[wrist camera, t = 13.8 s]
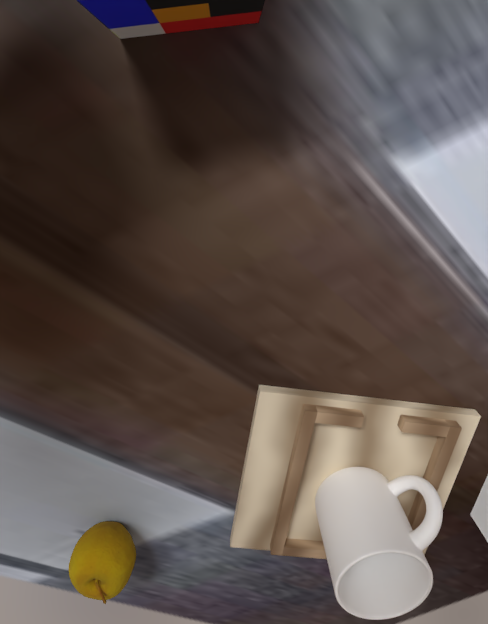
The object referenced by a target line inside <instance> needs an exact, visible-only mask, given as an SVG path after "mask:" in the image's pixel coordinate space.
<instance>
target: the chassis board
mask: <svg viewBox="0 0 488 624" xmlns="http://www.w3.org/2000/svg"><path fill="white" fill-rule="evenodd" d="M480 418H481V416H480V415H479V414H478V413H477V411H476V410H475V409H466V408H458V407H449V406H440V405H432V404H423V403H414V402H406V401H397V400H388V399H380V398H371V397H362V396H353V395H345V394H336V393H327V392H319V391H310V390H301V389H293V388H284V387H275V386H267V385H259V388H258V393H257V398H256V404H255V409H254V414H253V420H252V425H251V430H250V436H249V441H248V446H247V451H246V457H245V462H244V467H243V473H242V478H241V483H240V489H239V494H238V499H237V505H236V510H235V515H234V520H233V526H232V531H231V536H230V547H235V548H247V549H259V550H271V555H283V556H295V557H307V558H320V559H327V557H326V553H325V549H324V544H323V540H322V536H321V531H320V527H319V523H318V519H317V514H316V508H315V497H316V493H317V490H318V488H319V486H320V485H321V483H322V482H323V481H324V480H325V479H326V478H327V477H328V476H330V475H331V474H333V473H334V472H336V471H339V470H341V469H344V468H348V467H366V468H370V469H373V470H375V471H377V472H379V473H381V474H382V475H383V476H385V477H386V479H387V480H388V481H389V482H390V481H392V480H393V479H395V478H398V477H400V476H405V475H416V476H419V477H422V478H424V479H425V480H427V481H428V482H429V483H431V484H432V485H433V487H434V488H435V489H436V491H437V493H438V495H439V497H440V499H441V503H442V508H444V506H445V503H446V501H447V498H448V496H449V494H450V491H451V489H452V486H453V484H454V481H455V479H456V476H457V474H458V472H459V469H460V467H461V464H462V462H463V459H464V457H465V454H466V452H467V449H468V447H469V445H470V442H471V440H472V437H473V435H474V432H475V430H476V427H477V425H478V423H479V420H480ZM397 498H398V500H399V502H400V504H401V506H402V508H403V510H404V512H405V515H406V517H407V519H408V521H409V523H410V525H411V527H412V530H415V529H416V528H417V527H418V526H419V525H420V524H421V523H422V521H423V520H424V517H425V514H426V503H425V500H424V497H423V496H422V494H421V493H420V492H418V491H417V490H413V489H411V490H408V491H405V492H403V493H402V494H400V495H399V496H397ZM426 550H427V547H426V548H425V549H424V550H423V553H424V555H425V552H426Z"/></svg>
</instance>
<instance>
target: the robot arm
mask: <svg viewBox="0 0 488 624" xmlns="http://www.w3.org/2000/svg"><path fill="white" fill-rule="evenodd" d="M470 515H471V517H472V518H473V520H474V521H475V523H476V524H477V526H478V528H479V529H480V531H481V532H482V534H483V535H484V537H485V539H486V540H487V542H488V476H487V478H486V480H485V482H484V485H483V487H482V489H481V492H480V494H479V496H478V498H477V501H476V503H475V505H474V507H473V510H472V512H471V514H470Z"/></svg>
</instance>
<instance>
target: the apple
mask: <svg viewBox="0 0 488 624" xmlns="http://www.w3.org/2000/svg"><path fill="white" fill-rule="evenodd" d="M135 560H136V549H135V545H134V543H133V540H132V537H131V535H130V533H129V532H128V531H127V530H126V528H125V527H124V526H123V525H122V524H121V523H119V522H110V521H105V522H100V523H98V524H96V525H94V526H93V527H91V528H90V529H89V530H87V531H86V532H85V533H84V534H83V535H82V537H81V538H80V539H79V541H78V542H77V544H76V546H75V548H74V550H73V553H72V556H71V559H70V563H69V576H70V579H71V582H72V584H73V585H74V587H75V588H76V589H77V591H78V592H79V593H80V594H82V595H83V596H85V597H88V598H92V599H97V600H103V603H105V604H106V600H107V599H111V598H113V597H115V596H116V595H118V594H119V593H120V592H121V591H122V589H123V588H124V587H125V585H126V584H127V582H128V580H129V578H130V575H131V573H132V570H133V567H134V564H135Z"/></svg>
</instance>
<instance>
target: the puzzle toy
mask: <svg viewBox="0 0 488 624" xmlns="http://www.w3.org/2000/svg"><path fill="white" fill-rule="evenodd" d="M77 1H78V2H79V3H80V4H81V5H82V6H83V7H84V8H86V9H87V10H88V11H89V12H90V13H91V14H92V15H94V16H95V17H96V18H97V19H98V20H99V21H100V22H102V23H103V24H104V25H105V26H106V27H107V28H108V29H109V30H111V31H112V32H113V33H114V34H115V35H116V36H117V37H119V38H120V39H124V38H132V37H141V36H149V35H158V34H166V33H175V32H183V31H192V30H201V29H209V28H218V27H226V26H235V25H243V24H252V23H259V19H260V15H261V12H262V8H263V4H264V1H265V0H77Z"/></svg>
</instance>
